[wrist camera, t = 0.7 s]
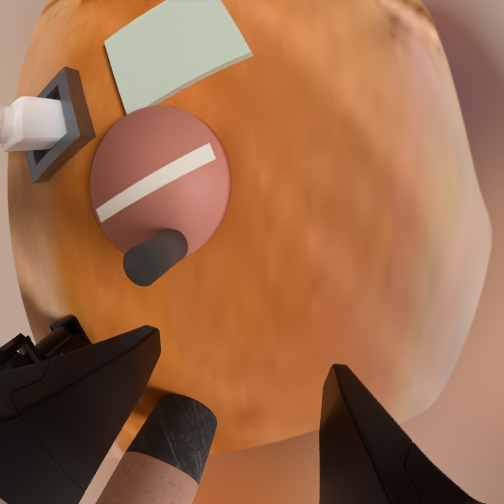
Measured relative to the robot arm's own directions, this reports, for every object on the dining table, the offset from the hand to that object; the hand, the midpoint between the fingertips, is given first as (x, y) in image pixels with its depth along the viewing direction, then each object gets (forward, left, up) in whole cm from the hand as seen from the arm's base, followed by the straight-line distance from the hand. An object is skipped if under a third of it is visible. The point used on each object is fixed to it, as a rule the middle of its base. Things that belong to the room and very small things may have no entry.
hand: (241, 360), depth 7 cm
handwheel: (-5, +7, -10) cm, 13 cm away
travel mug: (-16, -15, -12) cm, 25 cm away
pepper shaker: (-14, +18, -12) cm, 26 cm away
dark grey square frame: (-14, +18, -12) cm, 26 cm away
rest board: (-1, +18, -12) cm, 21 cm away
